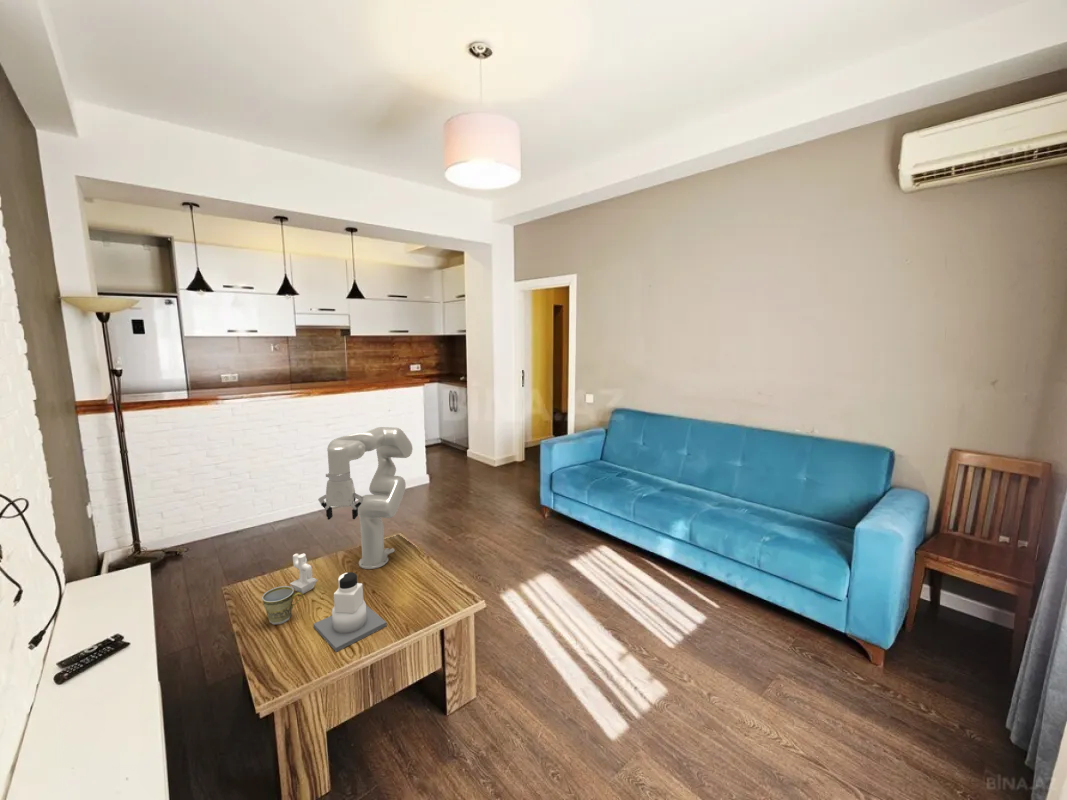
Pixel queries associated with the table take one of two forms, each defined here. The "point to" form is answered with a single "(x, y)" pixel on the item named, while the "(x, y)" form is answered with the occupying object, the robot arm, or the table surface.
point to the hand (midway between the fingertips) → (342, 518)
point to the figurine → (303, 574)
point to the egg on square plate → (349, 626)
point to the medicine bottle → (348, 594)
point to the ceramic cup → (279, 603)
